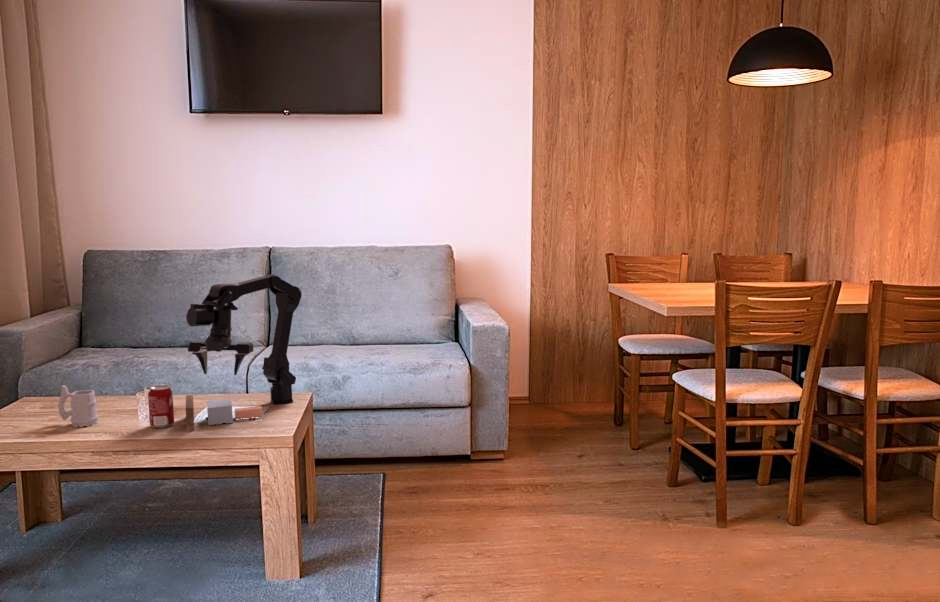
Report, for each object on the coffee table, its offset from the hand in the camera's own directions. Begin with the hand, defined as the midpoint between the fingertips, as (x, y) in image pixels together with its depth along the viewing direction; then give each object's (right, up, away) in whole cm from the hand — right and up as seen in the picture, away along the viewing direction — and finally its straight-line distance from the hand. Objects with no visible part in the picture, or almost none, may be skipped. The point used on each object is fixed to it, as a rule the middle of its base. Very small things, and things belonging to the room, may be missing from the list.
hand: (220, 374), depth 226 cm
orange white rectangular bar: (+9, -14, 0) cm, 16 cm away
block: (+1, -14, -3) cm, 14 cm away
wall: (-7, -14, -6) cm, 17 cm away
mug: (-42, -15, -5) cm, 44 cm away
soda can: (-15, -15, -8) cm, 22 cm away
